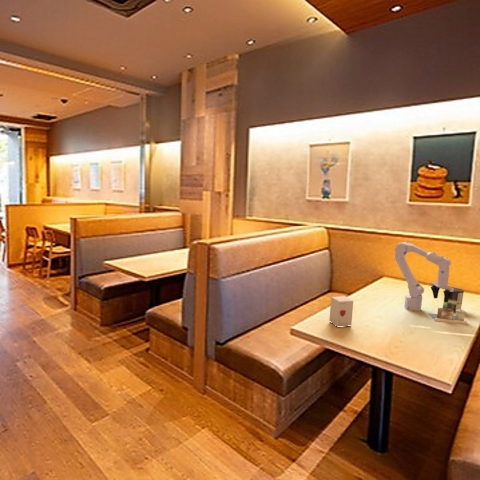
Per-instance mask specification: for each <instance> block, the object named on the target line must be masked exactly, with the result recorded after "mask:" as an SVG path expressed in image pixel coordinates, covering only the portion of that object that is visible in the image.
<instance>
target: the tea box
mask: <svg viewBox="0 0 480 480" xmlns="http://www.w3.org/2000/svg"><path fill="white" fill-rule="evenodd" d="M454 313H455V312H454V310H452V309H450V308H443V307H438V308H437V313H436V314H437V318H438V319H448V320H453V316H454Z"/></svg>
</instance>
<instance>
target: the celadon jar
mask: <svg viewBox="0 0 480 480" xmlns="http://www.w3.org/2000/svg"><path fill="white" fill-rule="evenodd" d="M465 315H466V311H465V310H463V309H462V308H461V309H460V310H456V312H455V316H456V317H455V320H459V321H465Z"/></svg>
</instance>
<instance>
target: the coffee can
mask: <svg viewBox="0 0 480 480" xmlns="http://www.w3.org/2000/svg"><path fill="white" fill-rule="evenodd" d="M450 287H451V288H454V292H453V293H452V295H451V296H450V298H449V300H448V302H444V301H443V303H442V308H450V309H452V310H454V313H456V310H460V309H461V310H462V305H463V299H464V293H465V290H463V289H462V288H458V287H453V286H450ZM444 291H446V290H445V289H444Z"/></svg>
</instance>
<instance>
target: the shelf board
mask: <svg viewBox="0 0 480 480" xmlns="http://www.w3.org/2000/svg"><path fill="white" fill-rule="evenodd" d="M437 314H438V313H430V312H429V313H428V315H429V316H430V318H432V320H434V322H445V323H456V324H464V325H465V324H466V325H467V323H468V322H467V320H464V321H459V320H455V317H456V315H453V320H448V319H438V318H437Z"/></svg>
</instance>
